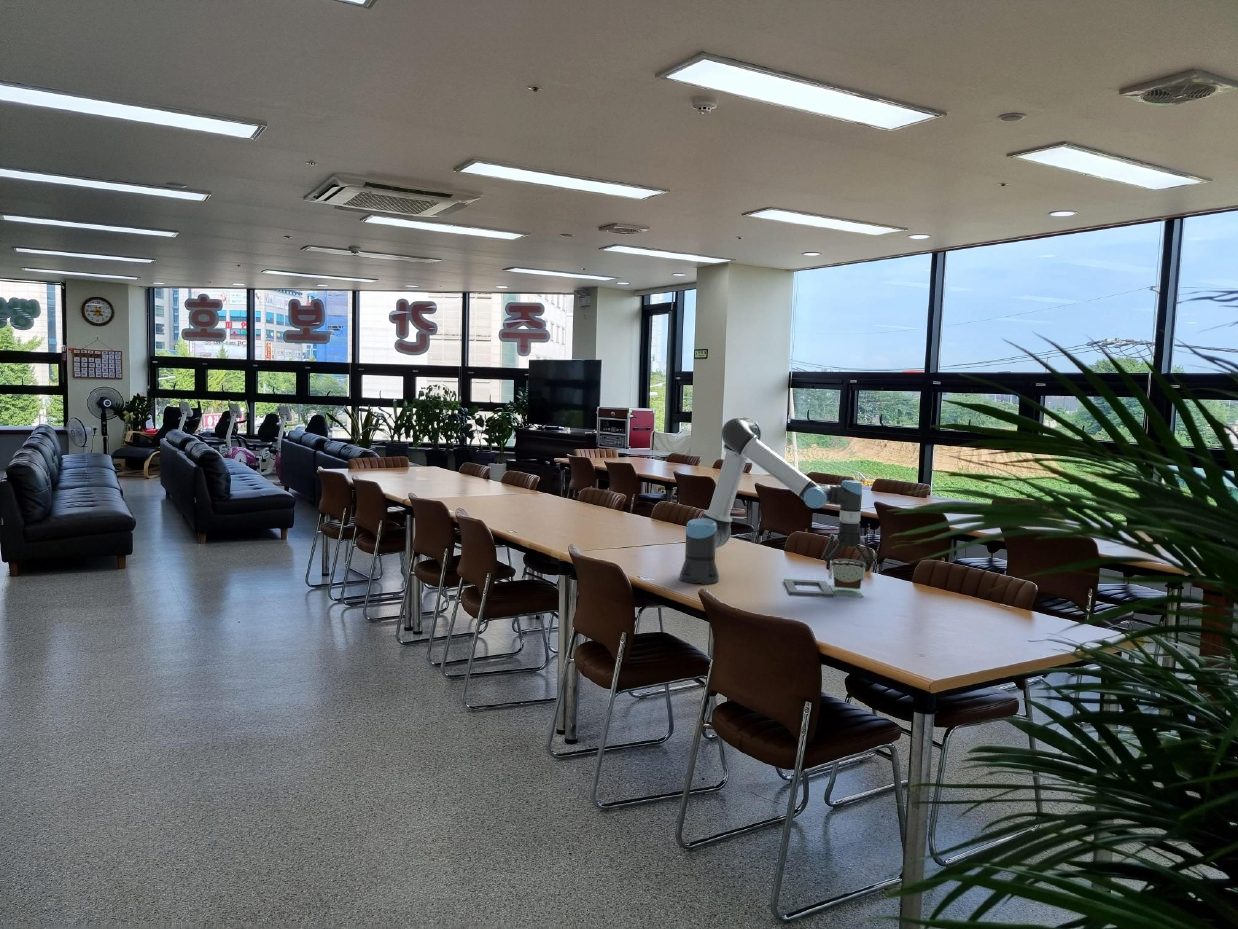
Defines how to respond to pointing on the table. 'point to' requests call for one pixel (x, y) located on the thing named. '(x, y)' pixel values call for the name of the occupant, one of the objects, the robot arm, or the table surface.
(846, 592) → the pad
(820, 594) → the grey rectangular frame
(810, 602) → the table surface
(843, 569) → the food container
